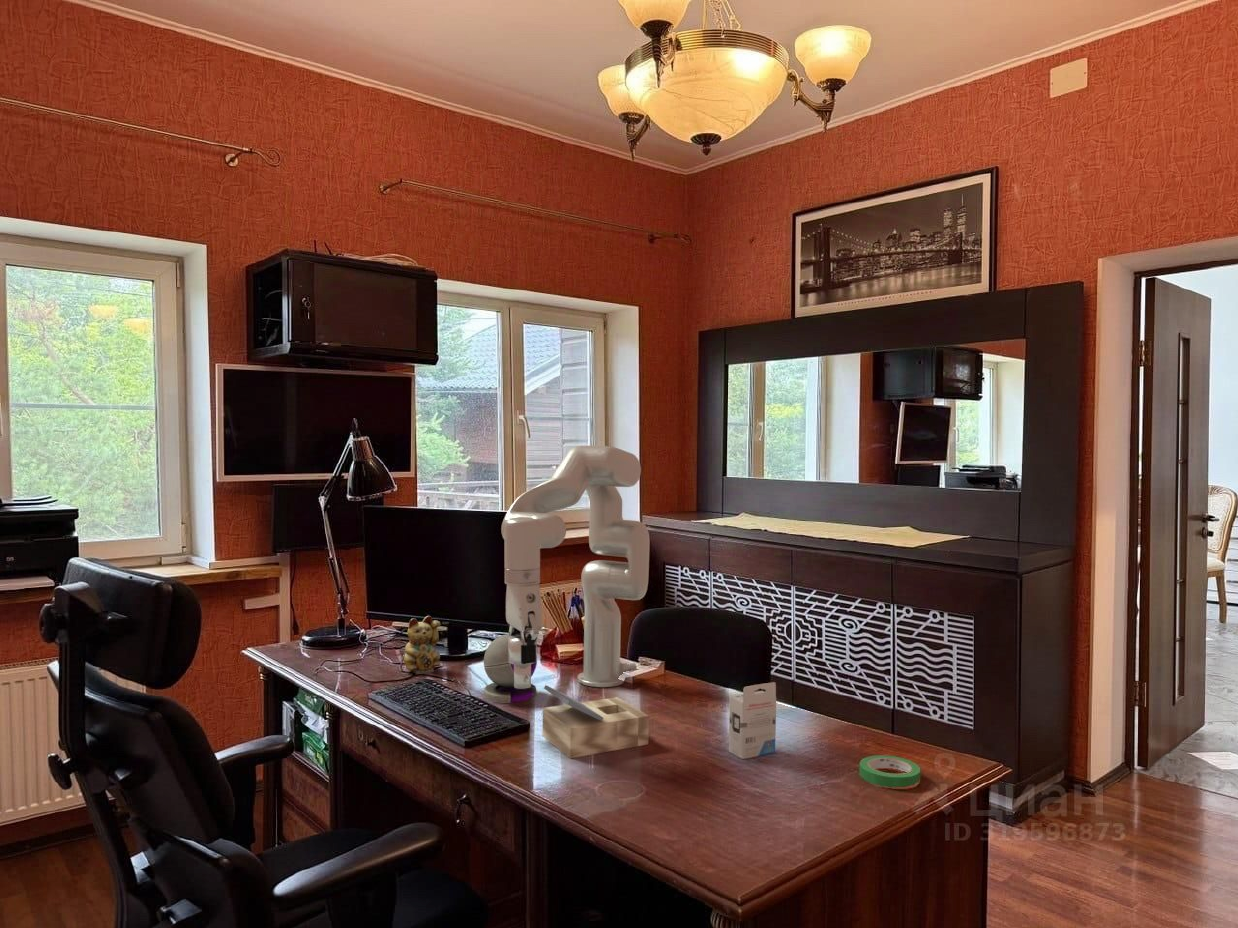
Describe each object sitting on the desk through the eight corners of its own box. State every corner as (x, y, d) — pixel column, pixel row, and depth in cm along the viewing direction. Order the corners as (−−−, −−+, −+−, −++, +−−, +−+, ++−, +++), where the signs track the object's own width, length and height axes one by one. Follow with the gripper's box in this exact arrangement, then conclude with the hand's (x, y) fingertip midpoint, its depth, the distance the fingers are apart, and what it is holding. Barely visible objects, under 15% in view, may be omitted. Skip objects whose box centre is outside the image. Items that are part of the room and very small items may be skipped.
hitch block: (616, 723, 191) (617, 697, 191) (648, 744, 178) (648, 715, 178) (542, 735, 182) (542, 707, 182) (570, 758, 170) (570, 728, 170)
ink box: (761, 745, 179) (763, 675, 179) (776, 753, 175) (777, 681, 174) (727, 751, 175) (729, 680, 175) (741, 759, 171) (743, 686, 170)
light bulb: (530, 679, 188) (530, 632, 187) (540, 687, 182) (540, 639, 182) (504, 684, 185) (504, 636, 184) (514, 692, 179) (514, 643, 179)
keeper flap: (576, 704, 185) (578, 700, 185) (601, 721, 174) (603, 717, 174) (543, 688, 181) (545, 684, 181) (567, 704, 170) (569, 700, 170)
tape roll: (849, 778, 163) (849, 765, 163) (875, 763, 171) (875, 750, 171) (904, 796, 155) (905, 782, 155) (929, 779, 164) (930, 765, 163)
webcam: (509, 706, 202) (510, 643, 201) (472, 695, 209) (472, 634, 209) (546, 693, 212) (547, 633, 211) (509, 683, 220) (510, 626, 219)
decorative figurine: (410, 676, 224) (411, 620, 224) (397, 669, 230) (397, 614, 230) (444, 671, 230) (444, 615, 230) (430, 664, 237) (430, 610, 236)
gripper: (554, 581, 176) (554, 667, 177) (523, 567, 191) (523, 646, 192) (520, 584, 173) (521, 672, 174) (491, 570, 188) (492, 650, 189)
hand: (522, 657), depth 183 cm, fingers closed on light bulb, 6 cm apart
